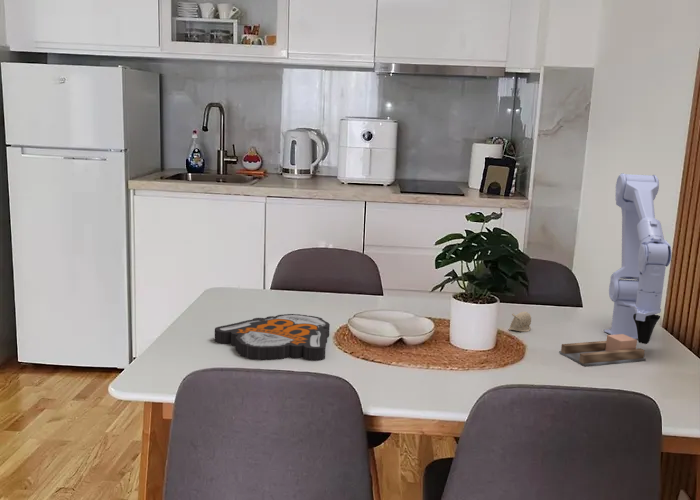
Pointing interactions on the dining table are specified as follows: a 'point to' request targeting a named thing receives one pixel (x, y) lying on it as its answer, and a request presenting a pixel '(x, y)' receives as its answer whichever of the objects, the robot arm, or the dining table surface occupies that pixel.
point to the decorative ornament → (521, 322)
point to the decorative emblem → (277, 337)
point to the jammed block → (620, 342)
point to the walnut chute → (599, 354)
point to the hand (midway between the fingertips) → (643, 342)
